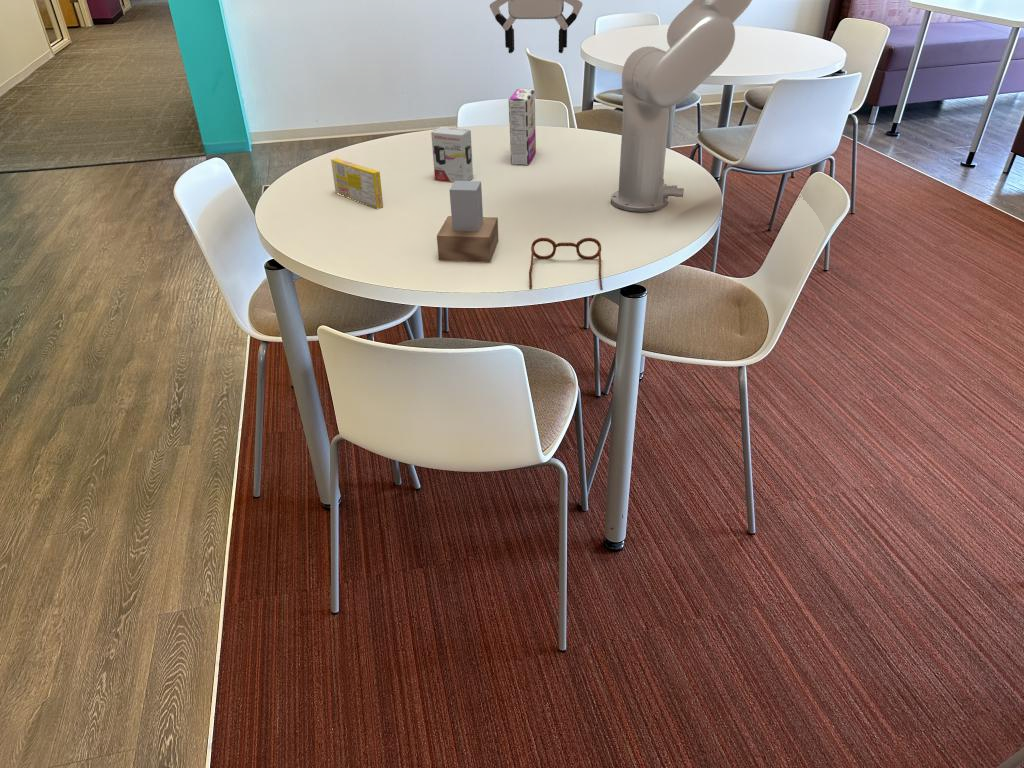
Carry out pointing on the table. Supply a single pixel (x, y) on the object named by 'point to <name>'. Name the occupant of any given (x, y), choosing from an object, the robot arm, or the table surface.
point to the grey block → (466, 206)
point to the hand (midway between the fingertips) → (536, 51)
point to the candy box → (357, 182)
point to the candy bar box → (522, 126)
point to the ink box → (452, 154)
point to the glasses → (565, 245)
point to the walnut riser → (468, 242)
